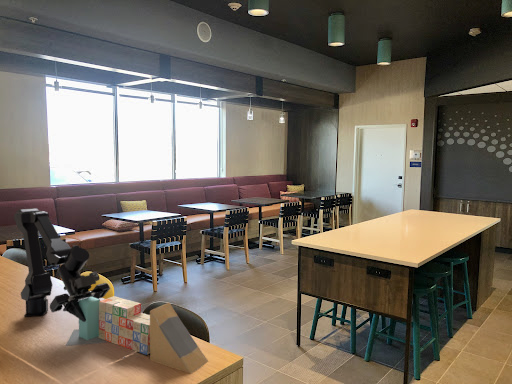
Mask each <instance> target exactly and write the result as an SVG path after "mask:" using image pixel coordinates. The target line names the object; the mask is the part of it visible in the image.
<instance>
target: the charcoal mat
mask: <svg viewBox="0 0 512 384" xmlns="http://www.w3.org/2000/svg"><path fill="white" fill-rule="evenodd" d="M107 342H108V341H106V340H104V339H101V338H99V336H97V337H95V338H92V339H89V340H86V339H83V338H81V337H79V328H77V329H73V330H72V333H71V334H70V336H69V338H68V339H67V341H66V343H65V347H67V346H69V347H70V346H77V345H78V346H80V345H82V346H83V345H93V344H94V345H95V344H96V345H97V344H107Z"/></svg>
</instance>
